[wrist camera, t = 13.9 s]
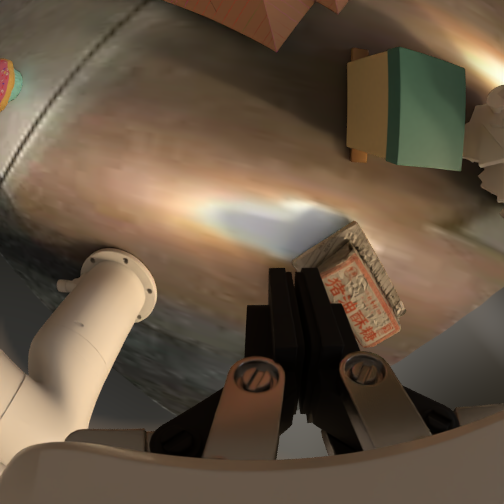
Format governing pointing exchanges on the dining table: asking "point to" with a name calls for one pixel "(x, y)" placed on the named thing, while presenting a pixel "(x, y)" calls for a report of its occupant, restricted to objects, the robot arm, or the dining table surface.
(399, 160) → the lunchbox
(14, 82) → the cupcake
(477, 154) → the spiral staircase
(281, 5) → the house
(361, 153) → the oak strip
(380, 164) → the dining table surface
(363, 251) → the packaged product
